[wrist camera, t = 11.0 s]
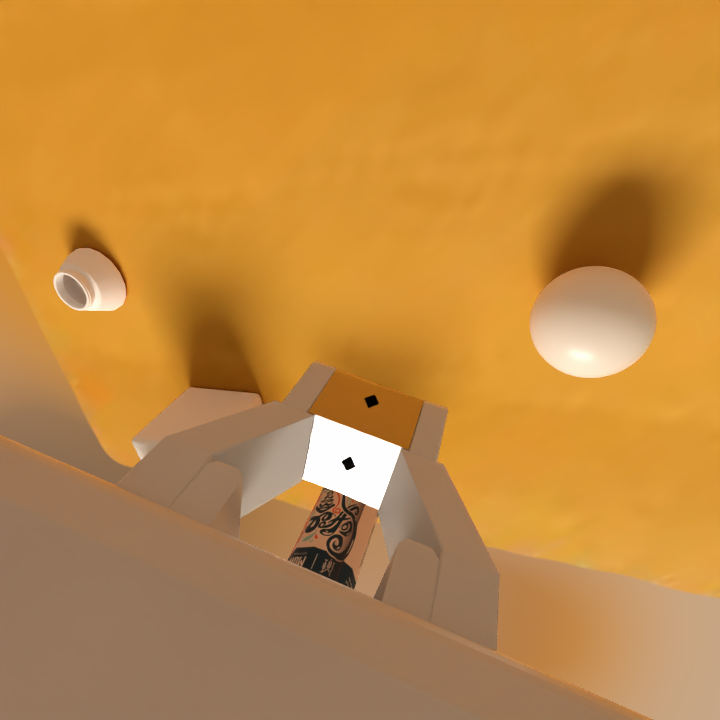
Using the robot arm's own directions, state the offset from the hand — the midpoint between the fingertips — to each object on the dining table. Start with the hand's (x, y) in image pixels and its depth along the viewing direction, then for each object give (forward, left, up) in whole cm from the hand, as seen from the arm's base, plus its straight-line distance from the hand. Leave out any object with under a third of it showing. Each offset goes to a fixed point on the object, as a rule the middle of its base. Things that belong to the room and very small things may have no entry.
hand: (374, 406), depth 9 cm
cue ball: (+2, +8, -14) cm, 16 cm away
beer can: (+22, -1, -17) cm, 28 cm away
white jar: (+12, -25, -18) cm, 33 cm away
